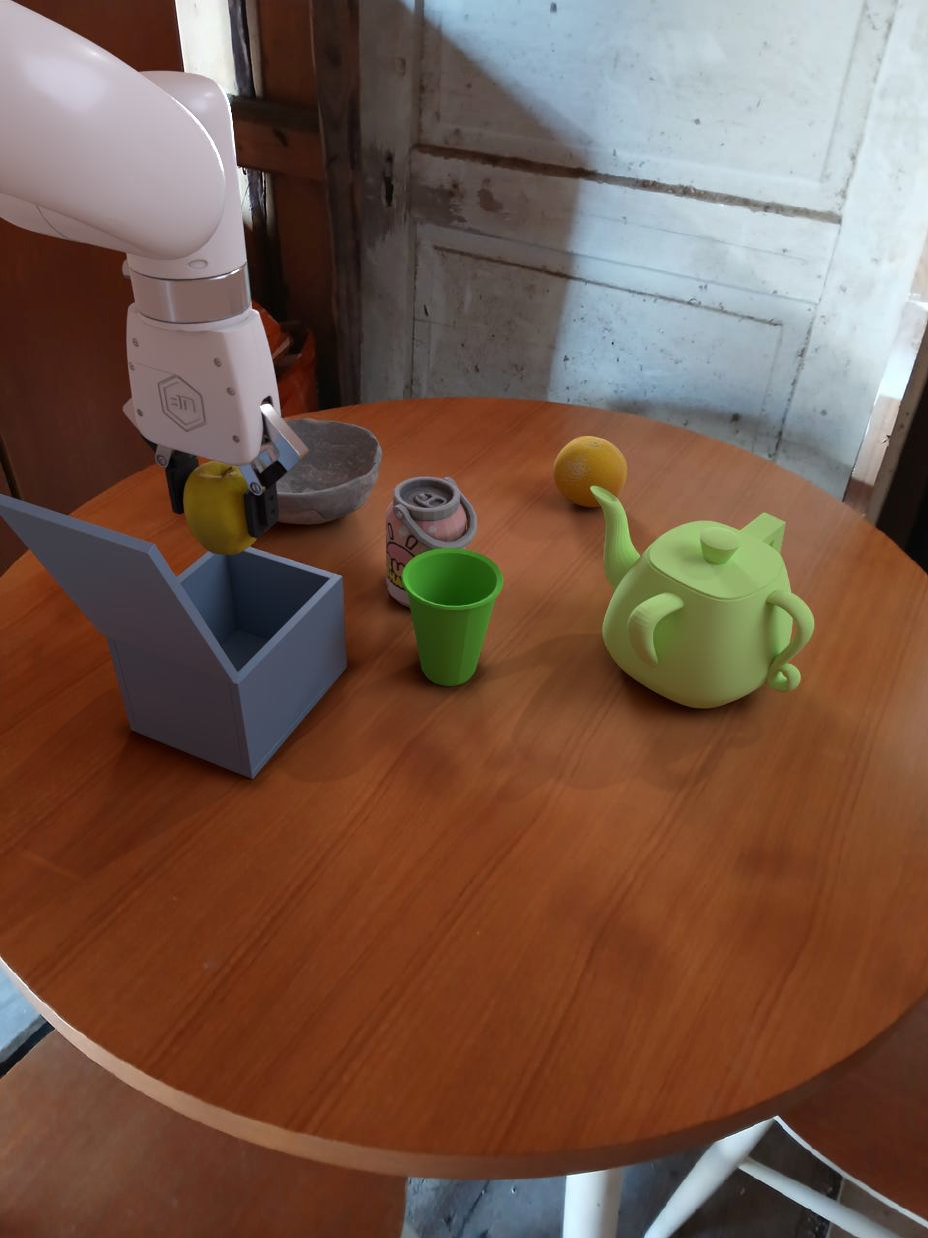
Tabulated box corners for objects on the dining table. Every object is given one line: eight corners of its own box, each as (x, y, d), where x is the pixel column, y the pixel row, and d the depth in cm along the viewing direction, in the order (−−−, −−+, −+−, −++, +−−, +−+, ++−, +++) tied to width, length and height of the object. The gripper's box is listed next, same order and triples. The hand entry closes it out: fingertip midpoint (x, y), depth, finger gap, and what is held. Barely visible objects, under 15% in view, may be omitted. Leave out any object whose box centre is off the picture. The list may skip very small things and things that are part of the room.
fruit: (624, 489, 114) (635, 432, 109) (617, 523, 108) (627, 463, 103) (556, 478, 116) (563, 421, 111) (544, 510, 110) (551, 451, 105)
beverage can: (487, 592, 96) (494, 495, 89) (435, 629, 91) (438, 529, 84) (422, 558, 101) (423, 463, 93) (369, 592, 95) (366, 493, 88)
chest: (236, 628, 90) (223, 538, 83) (347, 667, 86) (342, 575, 79) (130, 730, 79) (105, 635, 72) (252, 779, 75) (237, 684, 68)
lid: (-4, 492, 58) (-12, 501, 58) (155, 543, 54) (147, 553, 54) (107, 626, 72) (101, 634, 71) (239, 675, 68) (234, 684, 68)
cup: (474, 630, 91) (480, 540, 84) (510, 689, 85) (520, 596, 78) (389, 649, 88) (388, 556, 82) (419, 711, 82) (421, 616, 75)
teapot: (807, 727, 82) (857, 603, 73) (589, 718, 82) (612, 592, 73) (758, 602, 97) (795, 485, 88) (573, 593, 97) (591, 475, 88)
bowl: (198, 525, 104) (188, 463, 99) (285, 459, 117) (279, 402, 112) (333, 568, 98) (329, 505, 93) (408, 494, 111) (408, 435, 106)
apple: (263, 572, 71) (252, 483, 66) (181, 568, 71) (164, 479, 66) (278, 527, 76) (269, 441, 71) (201, 523, 76) (187, 437, 71)
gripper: (50, 282, 60) (106, 512, 71) (270, 333, 55) (293, 572, 66) (126, 252, 65) (167, 470, 77) (334, 296, 60) (345, 522, 72)
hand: (225, 515), depth 71 cm, fingers closed on apple, 6 cm apart
